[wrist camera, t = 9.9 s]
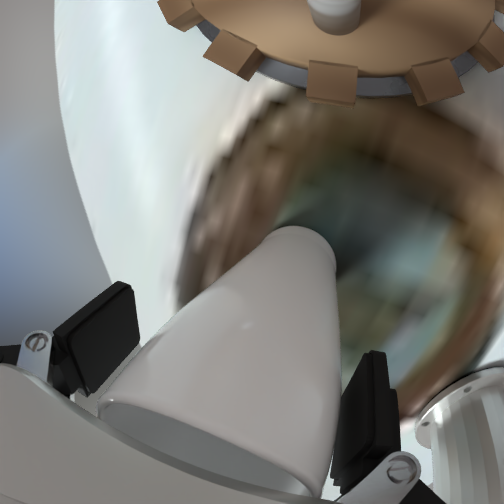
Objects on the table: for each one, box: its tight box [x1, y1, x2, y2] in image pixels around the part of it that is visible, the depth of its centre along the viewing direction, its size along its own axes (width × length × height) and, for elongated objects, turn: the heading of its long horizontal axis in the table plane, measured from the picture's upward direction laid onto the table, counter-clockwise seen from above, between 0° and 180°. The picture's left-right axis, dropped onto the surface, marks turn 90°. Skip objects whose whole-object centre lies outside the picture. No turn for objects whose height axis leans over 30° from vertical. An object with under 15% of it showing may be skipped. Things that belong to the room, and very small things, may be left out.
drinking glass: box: [96, 226, 342, 499], centre depth 12 cm, size 7×7×15 cm
